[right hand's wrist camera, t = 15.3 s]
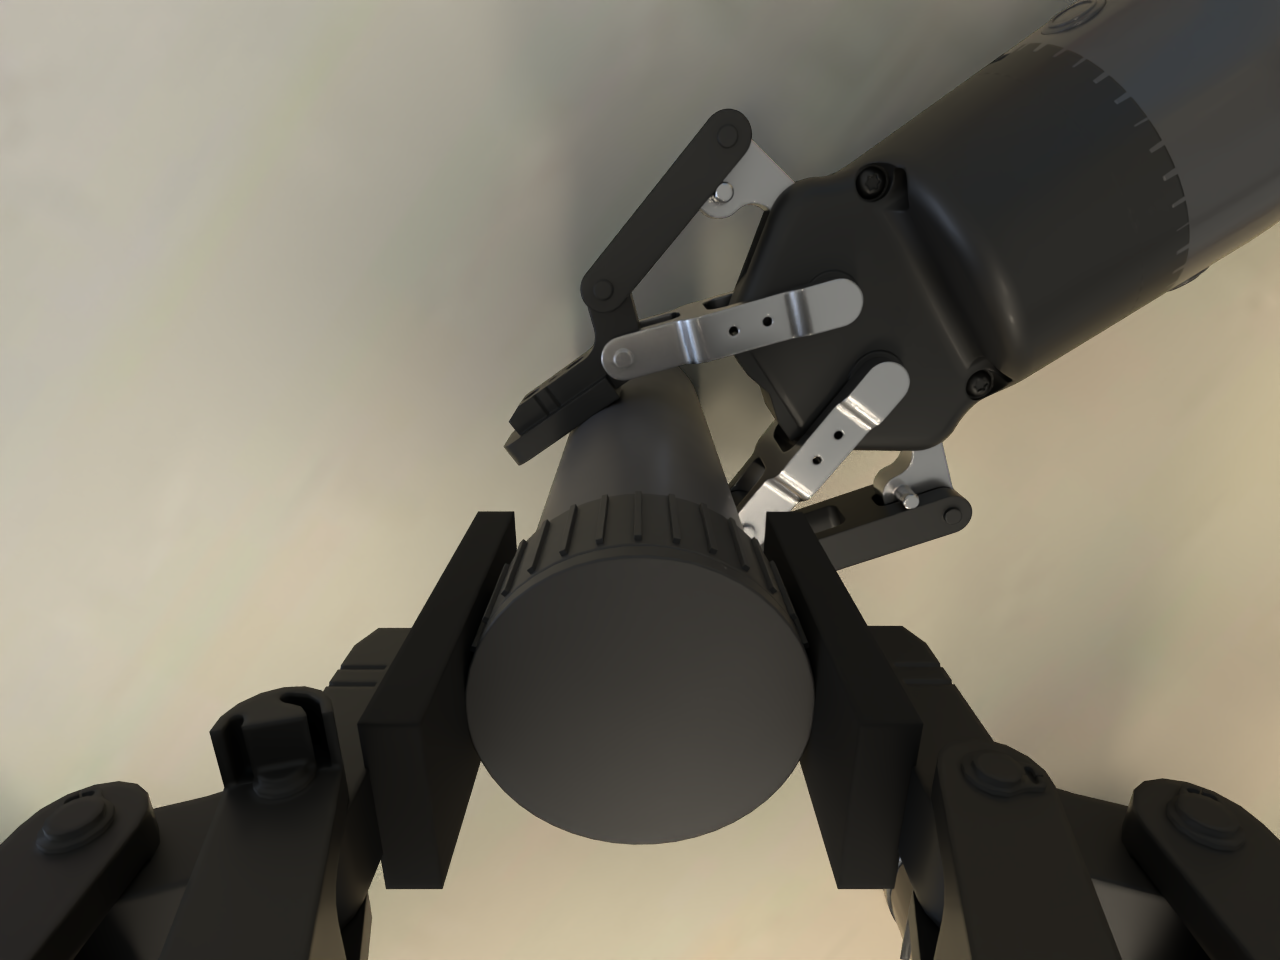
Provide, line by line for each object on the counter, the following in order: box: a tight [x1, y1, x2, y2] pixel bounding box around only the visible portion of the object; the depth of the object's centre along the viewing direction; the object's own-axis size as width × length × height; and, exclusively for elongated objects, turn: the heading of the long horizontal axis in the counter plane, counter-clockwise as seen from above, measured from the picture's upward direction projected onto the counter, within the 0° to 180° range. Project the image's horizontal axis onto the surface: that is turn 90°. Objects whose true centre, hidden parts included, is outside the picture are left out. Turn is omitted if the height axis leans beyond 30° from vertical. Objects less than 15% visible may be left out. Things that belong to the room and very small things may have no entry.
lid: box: [465, 491, 815, 845], centre depth 11 cm, size 6×6×2 cm
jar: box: [536, 367, 744, 531], centre depth 19 cm, size 5×5×18 cm
